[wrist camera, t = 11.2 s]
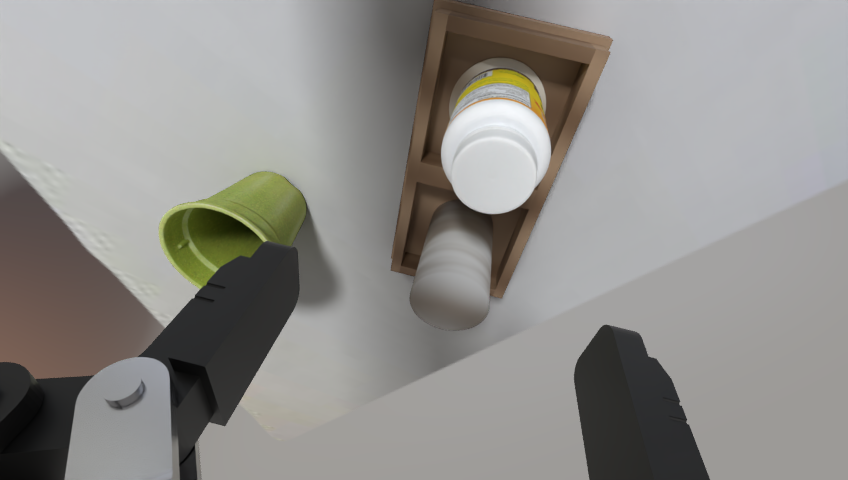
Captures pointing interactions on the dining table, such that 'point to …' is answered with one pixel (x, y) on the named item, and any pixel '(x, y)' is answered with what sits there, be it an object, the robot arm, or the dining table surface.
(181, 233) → the plant pot
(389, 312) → the dining table surface
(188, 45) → the dining table surface
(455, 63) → the caddy
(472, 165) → the supplement bottle
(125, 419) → the robot arm
